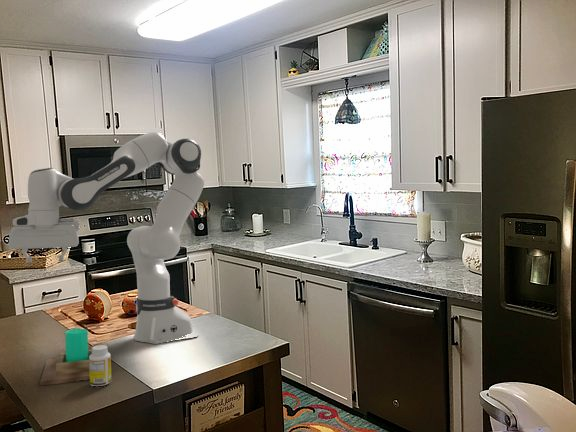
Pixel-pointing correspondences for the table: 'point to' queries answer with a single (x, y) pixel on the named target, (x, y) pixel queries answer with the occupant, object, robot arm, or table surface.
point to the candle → (76, 344)
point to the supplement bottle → (100, 366)
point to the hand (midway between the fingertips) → (45, 261)
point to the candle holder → (65, 370)
